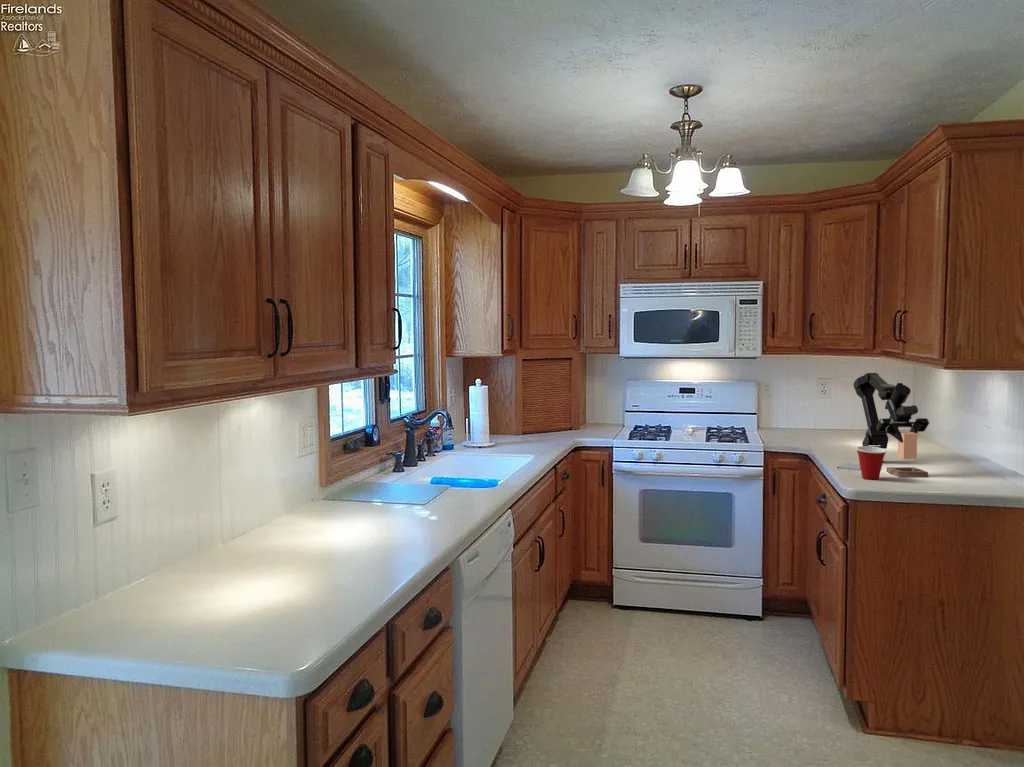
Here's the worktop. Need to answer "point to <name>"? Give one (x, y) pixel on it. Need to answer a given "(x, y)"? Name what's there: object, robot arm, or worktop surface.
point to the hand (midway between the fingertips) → (909, 441)
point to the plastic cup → (870, 461)
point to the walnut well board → (907, 472)
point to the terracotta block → (908, 445)
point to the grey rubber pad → (850, 466)
